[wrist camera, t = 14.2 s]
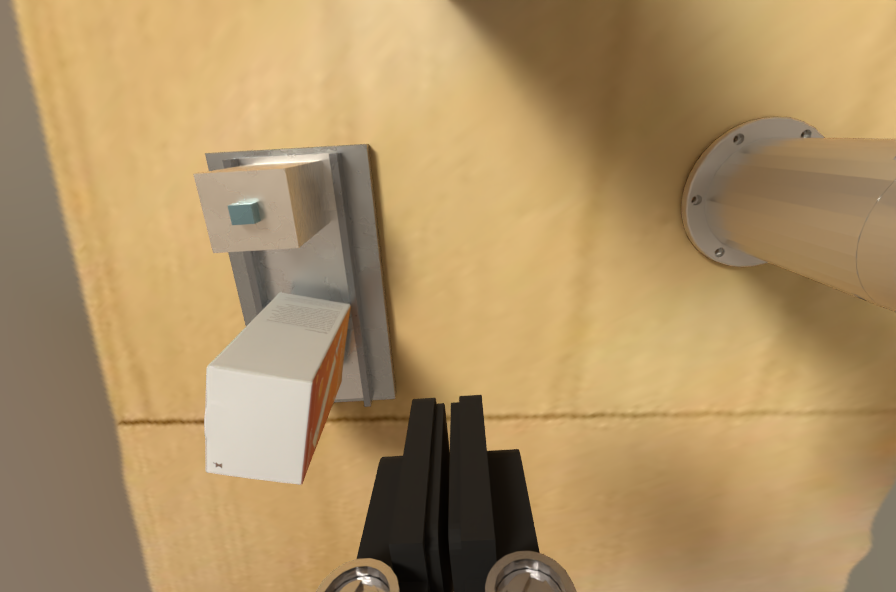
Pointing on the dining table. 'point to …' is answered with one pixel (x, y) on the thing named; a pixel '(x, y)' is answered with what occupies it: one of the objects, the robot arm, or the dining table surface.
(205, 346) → the dining table surface
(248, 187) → the rail board
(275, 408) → the small box
